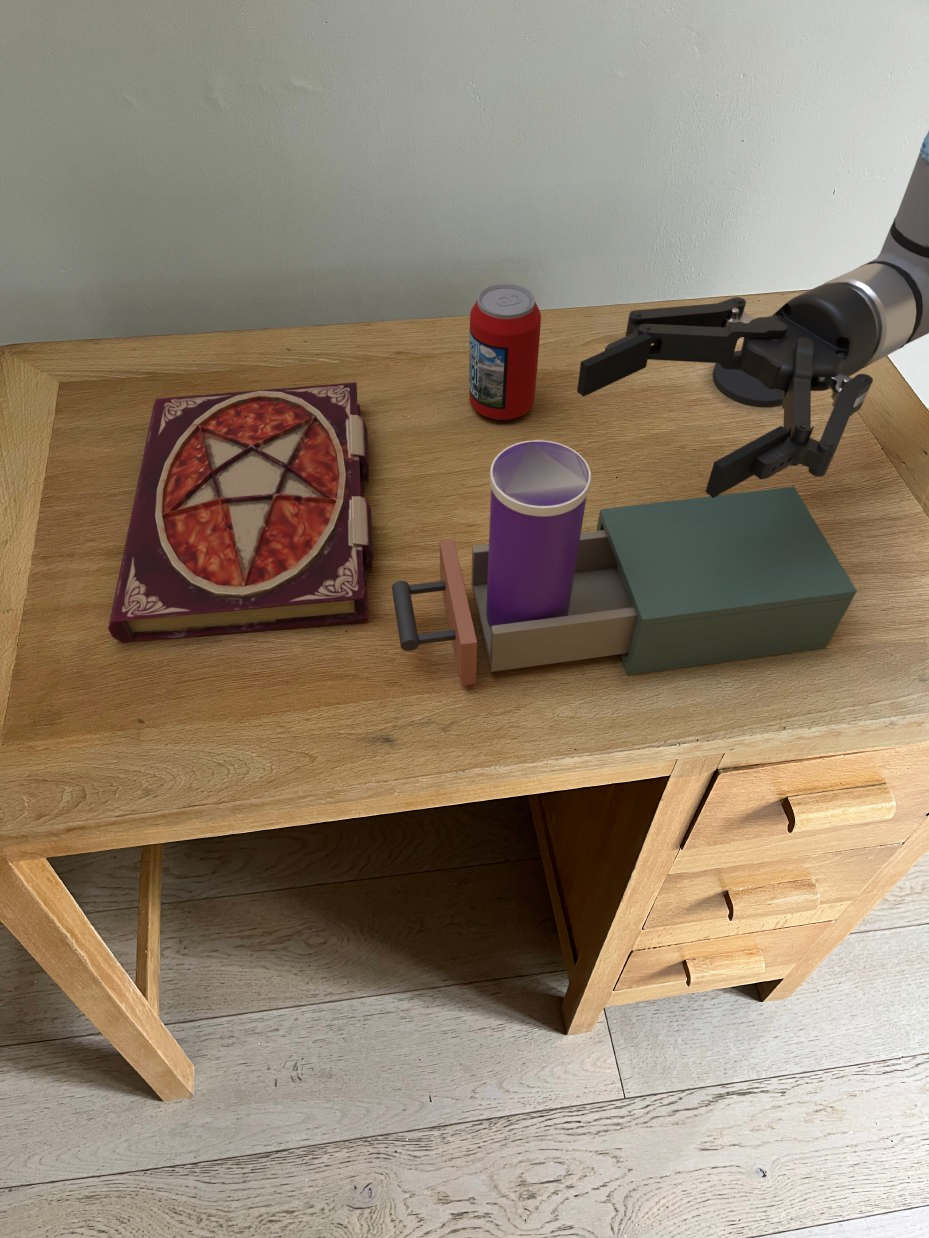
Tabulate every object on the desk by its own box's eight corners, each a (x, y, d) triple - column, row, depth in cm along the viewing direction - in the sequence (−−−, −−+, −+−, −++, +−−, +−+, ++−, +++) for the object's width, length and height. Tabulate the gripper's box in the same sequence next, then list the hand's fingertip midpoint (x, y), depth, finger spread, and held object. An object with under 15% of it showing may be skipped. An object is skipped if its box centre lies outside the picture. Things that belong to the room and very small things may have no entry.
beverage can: (459, 393, 90) (458, 287, 80) (517, 379, 91) (524, 274, 82) (483, 432, 86) (486, 325, 77) (544, 416, 88) (555, 310, 78)
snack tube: (583, 606, 69) (609, 464, 58) (540, 661, 66) (558, 522, 54) (513, 571, 72) (524, 427, 60) (468, 622, 68) (470, 481, 56)
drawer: (406, 693, 65) (402, 652, 61) (390, 591, 72) (386, 547, 67) (655, 659, 67) (668, 616, 63) (618, 562, 74) (627, 518, 70)
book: (160, 425, 87) (145, 384, 83) (367, 408, 88) (362, 367, 84) (118, 647, 70) (96, 608, 66) (377, 623, 71) (371, 583, 67)
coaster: (810, 374, 92) (813, 368, 92) (779, 417, 88) (781, 411, 87) (732, 346, 95) (734, 340, 95) (698, 387, 91) (700, 380, 90)
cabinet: (627, 675, 67) (642, 619, 62) (589, 567, 75) (600, 508, 69) (825, 648, 69) (857, 591, 64) (770, 545, 76) (794, 486, 71)
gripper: (952, 448, 65) (762, 569, 58) (714, 301, 78) (531, 383, 70) (1001, 365, 60) (796, 486, 52) (735, 219, 72) (538, 300, 64)
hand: (643, 427), depth 61 cm, fingers open, 13 cm apart
